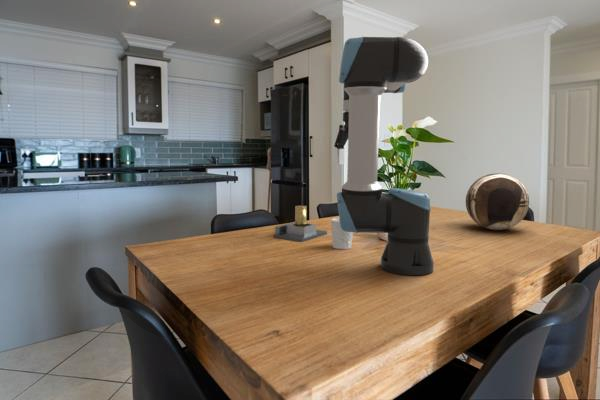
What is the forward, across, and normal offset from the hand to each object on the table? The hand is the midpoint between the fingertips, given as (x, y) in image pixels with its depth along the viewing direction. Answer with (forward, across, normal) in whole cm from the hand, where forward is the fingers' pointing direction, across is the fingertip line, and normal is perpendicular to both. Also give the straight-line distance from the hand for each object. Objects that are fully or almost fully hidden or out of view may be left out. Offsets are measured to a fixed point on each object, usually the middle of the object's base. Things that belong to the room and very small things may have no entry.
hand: (351, 165), depth 159 cm
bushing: (+28, +7, +20) cm, 34 cm away
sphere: (+29, -24, -62) cm, 73 cm away
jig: (+29, +8, +19) cm, 35 cm away
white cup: (+29, -16, +16) cm, 37 cm away
